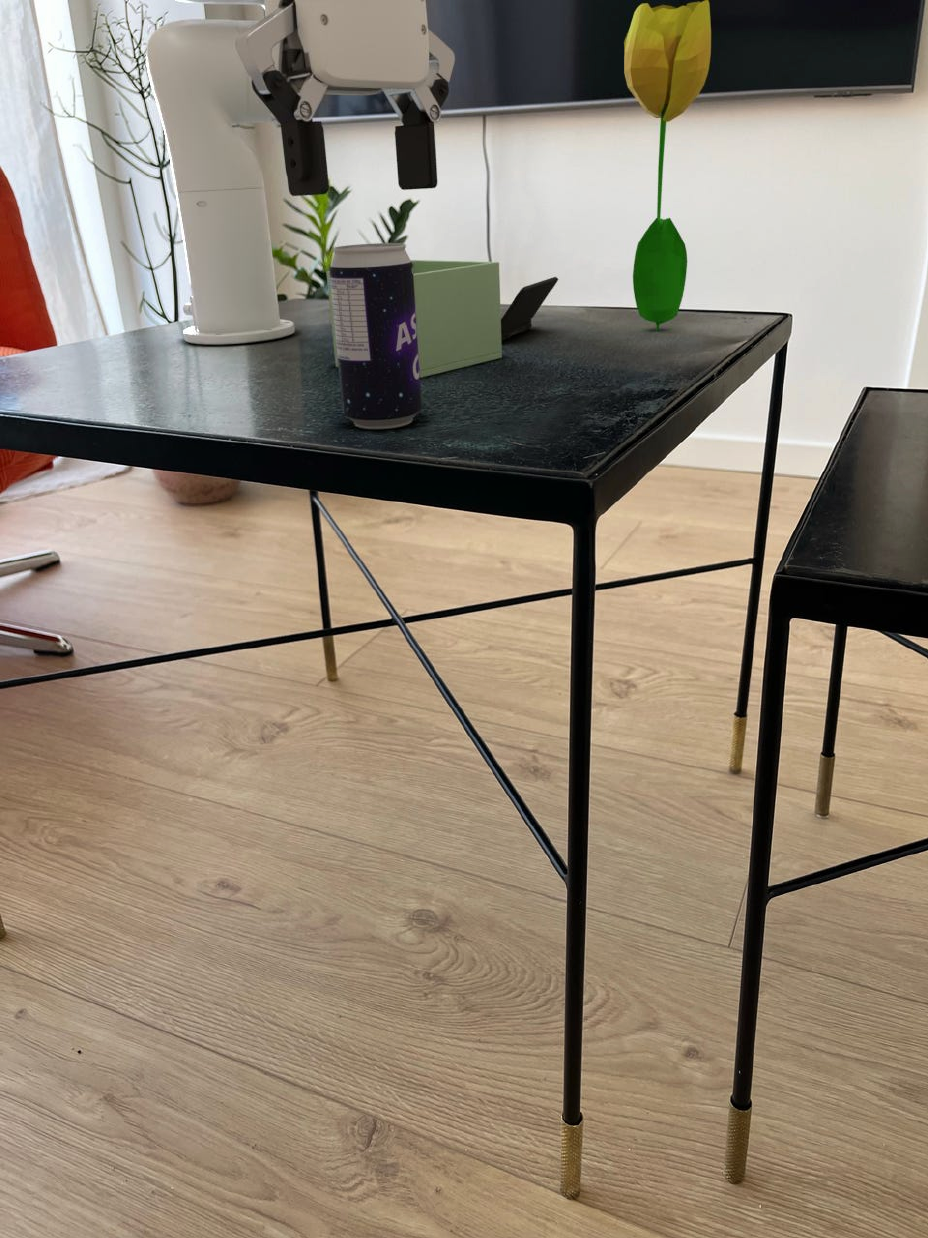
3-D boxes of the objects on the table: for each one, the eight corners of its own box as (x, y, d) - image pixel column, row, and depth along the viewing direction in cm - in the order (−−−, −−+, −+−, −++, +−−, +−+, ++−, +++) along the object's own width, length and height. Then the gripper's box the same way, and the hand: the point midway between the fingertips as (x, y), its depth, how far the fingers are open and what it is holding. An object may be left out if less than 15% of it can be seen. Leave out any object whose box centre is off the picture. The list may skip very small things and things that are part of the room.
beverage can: (411, 432, 68) (399, 247, 63) (333, 431, 69) (315, 250, 64) (430, 413, 73) (420, 241, 68) (357, 413, 74) (342, 243, 69)
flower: (617, 325, 108) (622, 9, 96) (691, 323, 107) (707, 3, 95) (620, 337, 101) (627, -5, 88) (700, 335, 100) (719, -12, 87)
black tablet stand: (463, 312, 111) (512, 237, 106) (514, 350, 112) (566, 278, 107) (437, 343, 102) (489, 263, 96) (492, 384, 103) (548, 308, 97)
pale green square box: (335, 367, 93) (326, 271, 89) (418, 348, 100) (412, 259, 97) (419, 378, 86) (413, 274, 82) (502, 357, 93) (499, 261, 90)
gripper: (399, -90, 66) (417, 188, 73) (176, -137, 54) (223, 199, 61) (484, -117, 61) (495, 184, 68) (259, -175, 49) (300, 195, 56)
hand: (366, 191), depth 64 cm, fingers open, 9 cm apart
